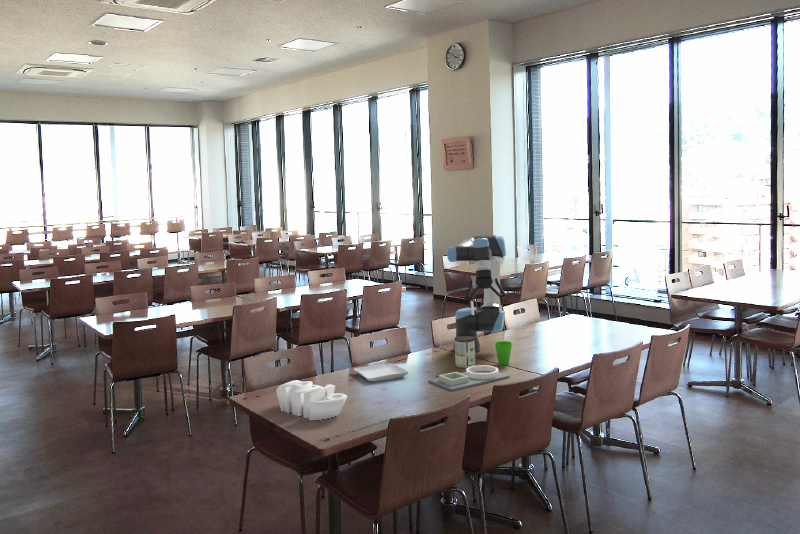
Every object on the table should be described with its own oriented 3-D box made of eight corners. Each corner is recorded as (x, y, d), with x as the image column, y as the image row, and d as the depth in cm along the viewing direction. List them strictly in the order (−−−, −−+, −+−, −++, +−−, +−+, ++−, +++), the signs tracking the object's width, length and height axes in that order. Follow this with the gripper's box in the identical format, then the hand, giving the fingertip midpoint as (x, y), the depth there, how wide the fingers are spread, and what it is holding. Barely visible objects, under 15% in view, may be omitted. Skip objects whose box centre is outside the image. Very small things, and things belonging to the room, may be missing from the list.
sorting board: (428, 382, 314) (428, 374, 313) (484, 369, 332) (484, 362, 331) (451, 391, 299) (451, 383, 298) (509, 377, 317) (509, 370, 316)
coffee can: (459, 361, 348) (458, 334, 347) (478, 363, 344) (477, 336, 342) (452, 366, 339) (451, 339, 338) (471, 368, 335) (471, 340, 333)
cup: (512, 366, 336) (512, 345, 334) (494, 366, 338) (493, 344, 336) (513, 361, 344) (512, 340, 343) (495, 361, 346) (494, 340, 345)
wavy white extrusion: (269, 407, 285) (267, 383, 283) (300, 397, 296) (299, 374, 295) (320, 426, 260) (319, 399, 259) (352, 415, 271) (351, 389, 270)
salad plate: (353, 374, 332) (352, 367, 332) (392, 368, 340) (392, 361, 340) (368, 385, 313) (367, 378, 312) (409, 378, 321) (409, 371, 321)
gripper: (456, 271, 328) (459, 315, 325) (507, 266, 320) (511, 310, 317) (460, 273, 335) (463, 316, 332) (509, 268, 327) (513, 311, 324)
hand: (486, 313), depth 324 cm, fingers open, 13 cm apart
